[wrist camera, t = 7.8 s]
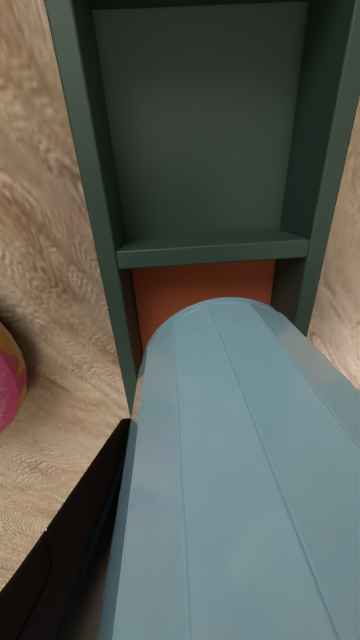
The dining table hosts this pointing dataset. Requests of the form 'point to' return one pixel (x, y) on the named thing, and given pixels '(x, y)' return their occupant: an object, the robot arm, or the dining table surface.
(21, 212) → the dining table surface
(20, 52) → the dining table surface
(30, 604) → the robot arm
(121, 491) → the blue cup
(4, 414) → the donut
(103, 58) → the cup rack
